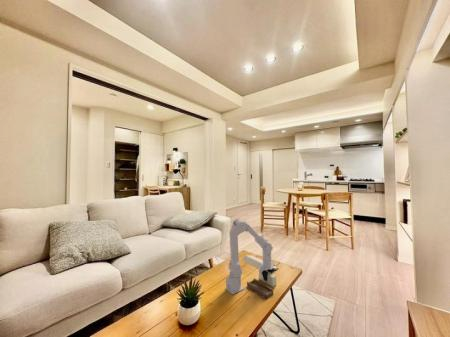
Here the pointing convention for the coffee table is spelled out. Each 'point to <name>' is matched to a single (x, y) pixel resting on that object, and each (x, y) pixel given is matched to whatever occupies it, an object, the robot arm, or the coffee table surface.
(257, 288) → the rack
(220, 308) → the coffee table surface
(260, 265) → the crown molding
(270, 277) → the light grey block
